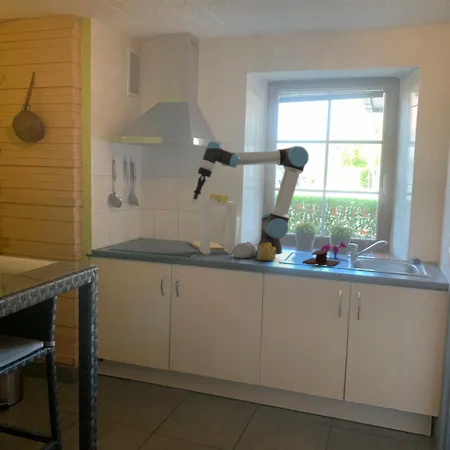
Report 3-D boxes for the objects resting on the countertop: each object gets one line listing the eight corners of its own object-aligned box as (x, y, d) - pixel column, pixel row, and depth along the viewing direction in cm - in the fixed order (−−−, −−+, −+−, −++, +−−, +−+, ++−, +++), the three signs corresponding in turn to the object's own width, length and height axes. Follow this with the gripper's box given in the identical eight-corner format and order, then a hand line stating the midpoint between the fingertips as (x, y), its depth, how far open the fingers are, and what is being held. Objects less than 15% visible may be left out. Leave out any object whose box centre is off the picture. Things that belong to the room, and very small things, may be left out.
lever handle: (300, 251, 254) (312, 247, 271) (299, 264, 255) (311, 259, 272) (330, 255, 246) (341, 250, 263) (329, 269, 247) (340, 263, 264)
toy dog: (345, 259, 275) (346, 242, 274) (314, 256, 283) (315, 239, 281) (346, 258, 279) (347, 241, 278) (315, 255, 286) (316, 238, 285)
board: (225, 250, 289) (225, 247, 289) (200, 250, 284) (200, 247, 283) (212, 243, 313) (213, 241, 313) (189, 243, 308) (189, 241, 308)
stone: (272, 262, 254) (273, 244, 253) (253, 260, 257) (254, 242, 256) (277, 259, 266) (278, 241, 265) (259, 257, 269) (260, 239, 268)
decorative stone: (249, 255, 257) (240, 239, 259) (234, 264, 261) (226, 248, 263) (262, 254, 272) (254, 239, 274) (248, 262, 276) (240, 247, 279)
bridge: (234, 253, 277) (236, 199, 274) (204, 254, 271) (206, 198, 268) (228, 251, 286) (231, 198, 283) (199, 251, 281) (202, 197, 277)
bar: (227, 202, 268) (227, 195, 267) (220, 202, 266) (221, 195, 266) (215, 199, 288) (216, 193, 288) (209, 199, 287) (209, 193, 287)
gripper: (200, 167, 280) (187, 201, 281) (199, 165, 255) (185, 202, 256) (212, 171, 280) (199, 205, 282) (212, 170, 255) (198, 207, 257)
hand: (193, 204), depth 269 cm, fingers open, 13 cm apart
